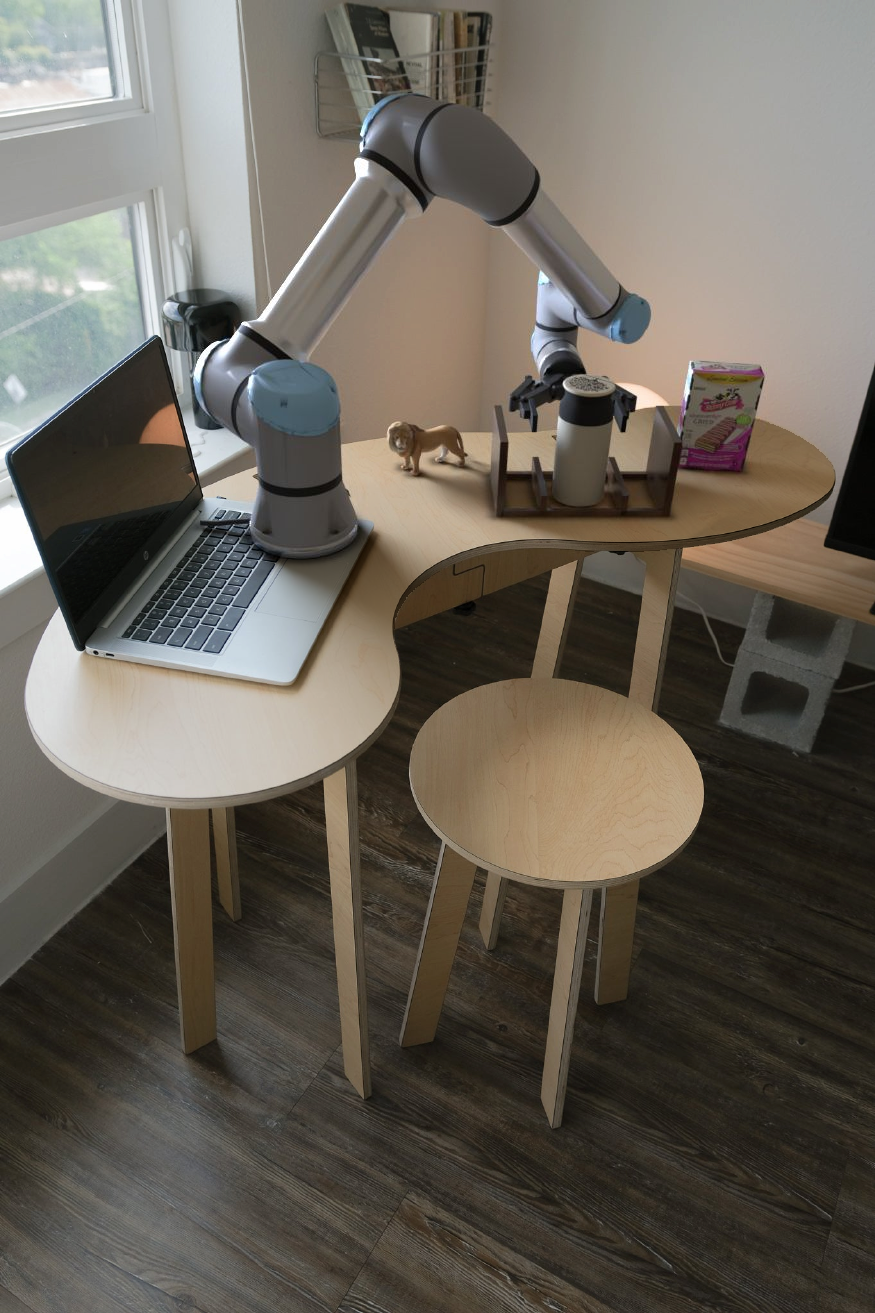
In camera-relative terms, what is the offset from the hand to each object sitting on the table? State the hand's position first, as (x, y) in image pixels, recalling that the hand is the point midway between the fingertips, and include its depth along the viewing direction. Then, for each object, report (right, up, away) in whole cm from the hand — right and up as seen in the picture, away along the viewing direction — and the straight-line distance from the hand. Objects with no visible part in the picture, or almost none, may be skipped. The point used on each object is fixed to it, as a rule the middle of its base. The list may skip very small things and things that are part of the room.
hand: (579, 424), depth 152 cm
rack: (0, -11, +3) cm, 11 cm away
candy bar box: (+23, -4, +12) cm, 26 cm away
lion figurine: (-23, -5, +9) cm, 26 cm away
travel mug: (0, -11, +3) cm, 11 cm away
